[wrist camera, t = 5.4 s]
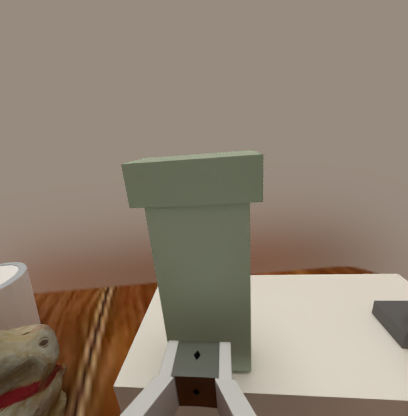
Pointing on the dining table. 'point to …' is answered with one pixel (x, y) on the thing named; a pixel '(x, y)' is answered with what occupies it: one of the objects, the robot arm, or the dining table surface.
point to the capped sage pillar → (201, 242)
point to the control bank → (304, 348)
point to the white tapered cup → (16, 297)
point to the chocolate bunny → (31, 372)
